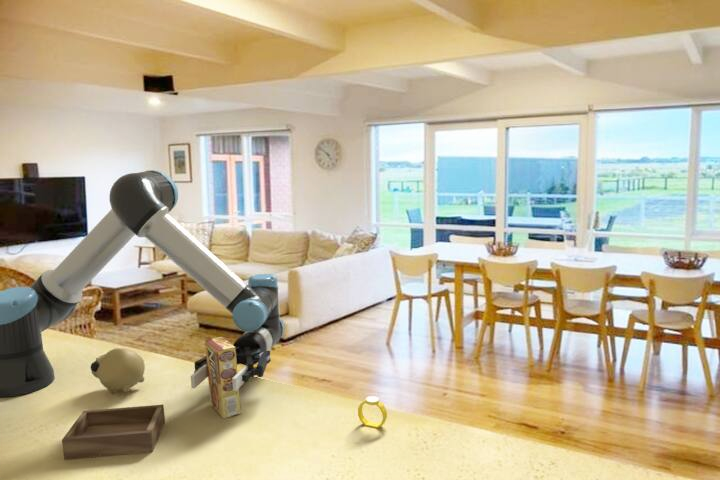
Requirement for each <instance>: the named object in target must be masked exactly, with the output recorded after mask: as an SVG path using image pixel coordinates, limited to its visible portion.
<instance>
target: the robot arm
mask: <svg viewBox="0 0 720 480" xmlns="http://www.w3.org/2000/svg"><path fill="white" fill-rule="evenodd" d="M178 199H179V191H178V187H177V184H176V183H175V181H174V180H173V179H172V178H171V177H170V176H169V175H168V174H167V173H164V172H162V171H159V170H154V169H153V170H146V171H141V172H133V173H127V174H125V175H122V176H120V177H119V178H117V179H116V181H114V183H113V184H112V186H111V189H110V191H109V204H110V207H111V209H110V210H109V211H108V212H107V214H105V215H104V217H103V218H102V219H100V221H99V222H98V223H97V224H96V225H95V226H94V227H93V228H91V230H90V231H89V233H87V235H86V236H84V238H83V239H82V240H81V241H80V242H79V243H78V244H77V245H76V246H75V247H74V248H73V249H72V251H71V252H70V253H69V254H68V255H67V256H66V257H65V258H64V259H63V260H62V261H61V262H60V263H59V265H57V267H56V268H55V269H47V270H45V271H43V272H42V274H41V275H39V276H38V278H37V279H36V280H35V281H34V282H33V283H32V284H31V285H30V286H17V287H16V286H15V287H10V288H5V289H4V290H1V289H0V398H8V397H15V396H21V395H25V394H29V393H32V392H36V391H38V390H41V389H43V388H46V387H47V386H49V385H50V384H51V383H53V381H54V380H55V378H56V377H55V370H54V367H53V365H52V364H51V362H50V360H49V358H48V356H47V354H46V352H45V351H44V345H43V337H42V332H44V331H46V330H47V329H48V330H49V328H52V327H54V326H55V325H57V324H60V323H61V322H63V321H65V320H66V319H68V318H69V317H70V316H71V315H72V314H73V313H74V312H75V310H76V309H77V307H78V303H80V301H81V300H82V298H83V289H85V288H86V287H87V286H88V285H89V283H91V282H92V280H93V279H94V278H95V277H96V276H97V275H98V274H99V273H100V272H101V271H102V270H103V269H104V268H105V267H106V266H107V265H108V263H110V262H111V260H112V259H113V258H114V257H115V256H116V255H117V254H119V252H120V251H122V249H123V248H124V246H126V244H128V243H129V242H130V241H131V239H132V238H134V236H136V237H138V238H146V239H147V240H148V241H149V242H150V243H151V244H153V245H154V247H156V248H157V249H158V250H159V251H161V253H162V254H164V255H165V256H166V257H167V258H168V259H170V260H171V261H172V262H173V263H174V264H175V265H176V266H178V268H179V269H181V270H182V271H183V272H184V273H186V274H187V275H188V276H189V277H190V278H191V279H192V280H193V281H195V282H196V283H197V284H198V285H199V286H200V287H201V288H202V289H204V290H205V291H206V292H207V293H208V294H209V295H211V297H213V298H214V299H215V300H216V301H217V302H218V303H219V304H221V305H222V306H223V307H224V308H225V309H226V310H228V311H229V312H230V313H231V314H232V321H233V323H234V325H235V326H236V327H237V328H238V329H240V330H241V331H244V333H242V334H241V336H239V337H237V339H236V340H235V341H234V343H233V344H232V345H233V346H235V348H236V361H237V366H238V365H243V367H242V368H241V369H240V370H239V371H237V374H236V375H235V376H234V377H233V378H232V382H233V391H237V390H238V389H239V390H240V388H241V386H242V385H244V383H245V382H246V383H247V382H248V381H250V380H251V379H252V378H254V377H255V376H257V377H258V378H262V377H264V374H265V372H266V368H267V365H268V364H269V363H270V362H271V358H272V357H271V349H272V348H273V347H274V346H276V345H277V343H278V342H280V340H281V338H282V337H283V336H284V333H285V327H286V326H285V323H284V321H283V320H282V318H281V317H280V311H279V310H280V309H279V307H280V306H279V285H278V277H276V275H275V274H271V273H258V274H254V275H250V277H249V278H248V281H247V283H246V282H245V281H244V280H243V279H242V278H241V277H240V276H238V274H237V273H235V272H234V271H233V270H232V269H231V267H228V266H227V265H226V263H224V262H223V261H222V260H221V259H220V258H219V257H217V256H216V255H215V254H214V253H213V252H212V251H211V250H209V248H208V247H207V246H205V245H204V244H203V243H201V241H200V240H198V239H197V238H196V237H195V236H194V235H193V234H192V233H190V231H188V229H186V228H185V227H184V226H182V224H181V223H179V222H178V221H177V220H176V219H175V218H174V217H173V216H171V215H170V212H171V211H172V210H173V209H174V208H175V206H176V205H177V202H178ZM255 365H256V366H255ZM206 379H208V370H207V359H206V355H205V356H203V357H201V358H200V359H197V360H196V361H194V371H193V374H191V375H190V384H191V385H190V386H191V389H196V388H197V387H198V386H199V385H200V384H202V383H203V382H204V381H205V380H206Z"/></svg>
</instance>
